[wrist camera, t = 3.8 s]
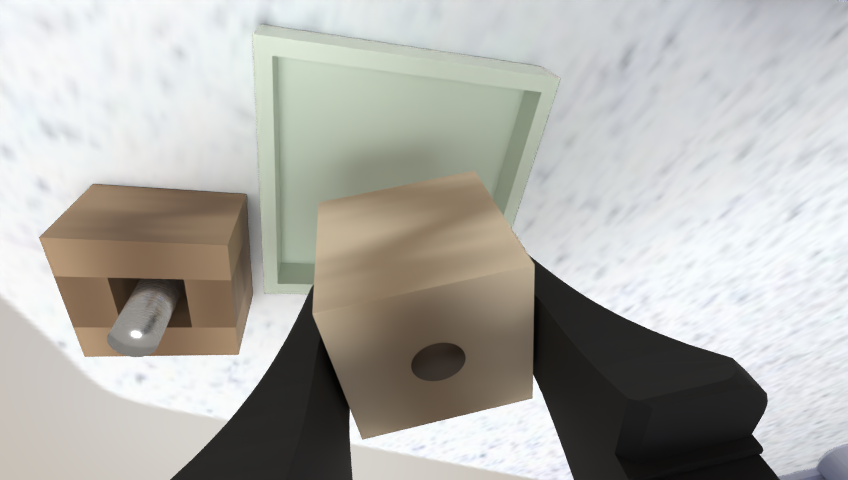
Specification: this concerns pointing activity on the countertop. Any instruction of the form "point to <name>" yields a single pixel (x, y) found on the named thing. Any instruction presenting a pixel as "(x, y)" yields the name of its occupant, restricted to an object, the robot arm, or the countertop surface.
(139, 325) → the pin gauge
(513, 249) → the block
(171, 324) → the slotted wooden block
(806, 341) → the countertop surface
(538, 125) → the tray
